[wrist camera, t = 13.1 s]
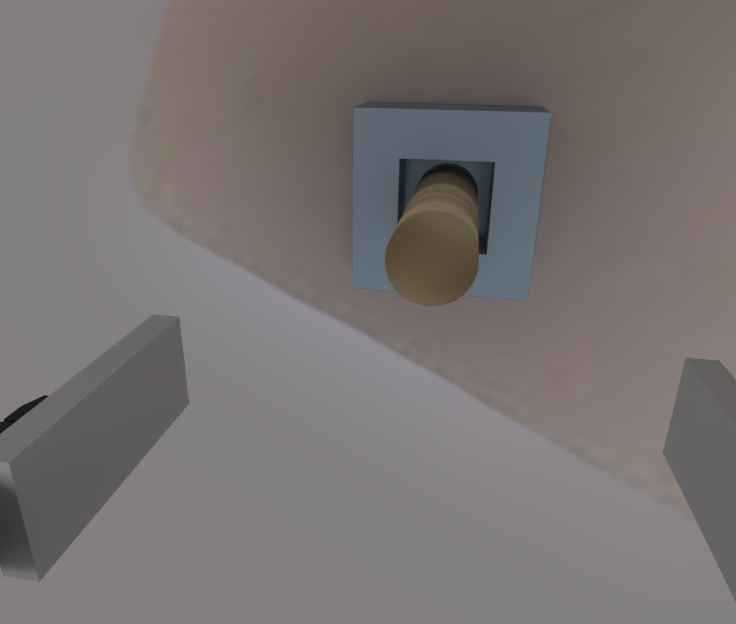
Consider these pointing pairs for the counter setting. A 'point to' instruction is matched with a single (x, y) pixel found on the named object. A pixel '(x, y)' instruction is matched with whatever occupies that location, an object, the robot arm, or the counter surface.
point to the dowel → (436, 238)
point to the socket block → (462, 147)
